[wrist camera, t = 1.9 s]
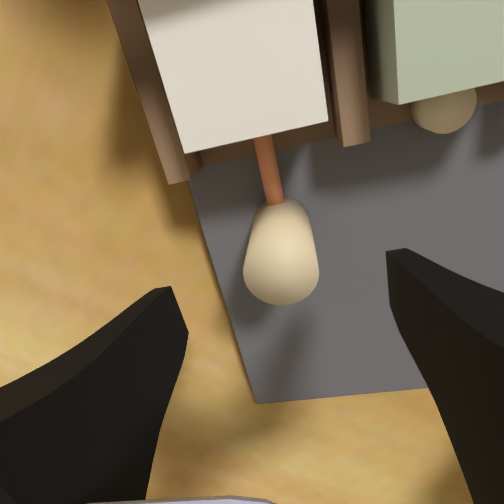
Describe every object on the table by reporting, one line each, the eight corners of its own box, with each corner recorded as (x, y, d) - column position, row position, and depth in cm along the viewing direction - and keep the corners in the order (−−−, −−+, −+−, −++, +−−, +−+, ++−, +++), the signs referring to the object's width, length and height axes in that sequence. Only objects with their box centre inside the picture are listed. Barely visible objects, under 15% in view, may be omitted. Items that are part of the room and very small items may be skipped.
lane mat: (499, 367, 22) (509, 380, 21) (257, 392, 25) (256, 404, 24) (524, 91, 15) (539, 92, 14) (188, 165, 18) (183, 170, 17)
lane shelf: (524, 91, 15) (692, 101, 9) (188, 165, 18) (137, 213, 12) (547, -163, 12) (838, -426, 6) (130, -26, 15) (15, -102, 8)
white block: (336, 240, 18) (353, 295, 13) (239, 256, 19) (225, 313, 14) (298, -33, 13) (305, -89, 9) (171, 6, 14) (117, -27, 9)
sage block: (499, 115, 15) (568, 127, 11) (374, 141, 15) (401, 161, 12) (512, -98, 12) (611, -174, 8) (359, -51, 13) (388, -101, 9)
